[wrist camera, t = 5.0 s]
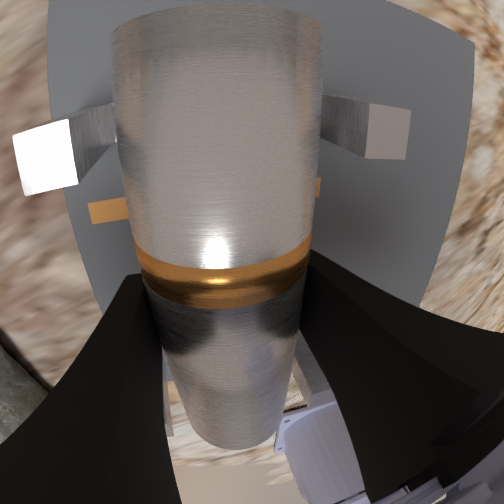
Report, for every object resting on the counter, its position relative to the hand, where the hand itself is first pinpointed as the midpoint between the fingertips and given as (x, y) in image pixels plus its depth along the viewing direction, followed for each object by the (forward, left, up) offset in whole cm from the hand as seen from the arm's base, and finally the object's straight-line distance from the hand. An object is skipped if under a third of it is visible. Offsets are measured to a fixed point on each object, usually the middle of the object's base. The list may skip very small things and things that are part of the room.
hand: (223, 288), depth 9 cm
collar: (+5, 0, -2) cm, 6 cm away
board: (+1, -4, -3) cm, 5 cm away
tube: (0, 0, -2) cm, 2 cm away
